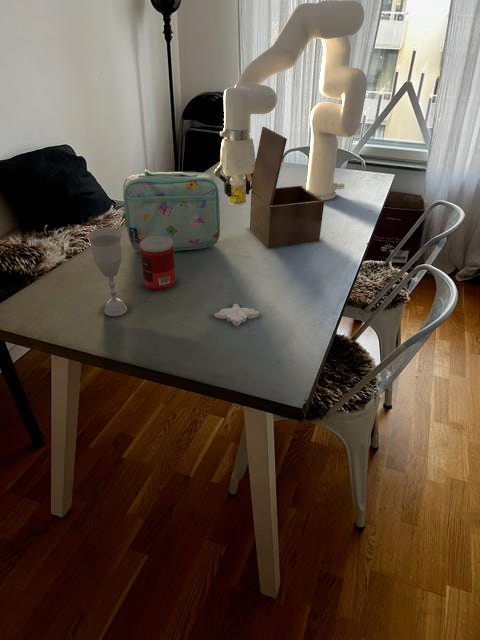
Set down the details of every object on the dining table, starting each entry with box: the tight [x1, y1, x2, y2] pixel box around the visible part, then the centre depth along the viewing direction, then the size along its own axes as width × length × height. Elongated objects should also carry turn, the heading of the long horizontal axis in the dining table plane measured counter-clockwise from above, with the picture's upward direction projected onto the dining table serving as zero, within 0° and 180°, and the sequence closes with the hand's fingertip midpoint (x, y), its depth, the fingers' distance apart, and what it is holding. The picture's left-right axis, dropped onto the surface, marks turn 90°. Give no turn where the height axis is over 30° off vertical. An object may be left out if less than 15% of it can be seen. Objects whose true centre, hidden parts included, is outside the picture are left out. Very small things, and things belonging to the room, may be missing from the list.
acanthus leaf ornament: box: [213, 303, 260, 327], centre depth 103 cm, size 8×7×2 cm
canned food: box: [139, 236, 177, 291], centre depth 113 cm, size 8×8×11 cm
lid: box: [250, 126, 288, 205], centre depth 128 cm, size 18×15×1 cm
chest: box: [249, 185, 325, 249], centre depth 139 cm, size 17×15×12 cm
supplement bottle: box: [228, 174, 247, 207], centre depth 146 cm, size 5×5×10 cm
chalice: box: [87, 228, 128, 317], centre depth 100 cm, size 7×7×18 cm
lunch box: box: [120, 169, 221, 253], centre depth 128 cm, size 27×10×21 cm, turn 102°
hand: (237, 193), depth 147 cm, fingers closed on supplement bottle, 5 cm apart
